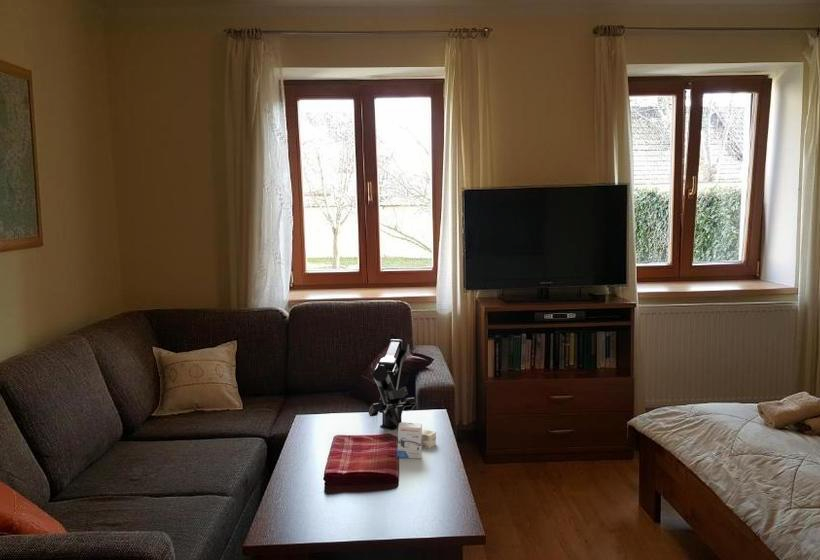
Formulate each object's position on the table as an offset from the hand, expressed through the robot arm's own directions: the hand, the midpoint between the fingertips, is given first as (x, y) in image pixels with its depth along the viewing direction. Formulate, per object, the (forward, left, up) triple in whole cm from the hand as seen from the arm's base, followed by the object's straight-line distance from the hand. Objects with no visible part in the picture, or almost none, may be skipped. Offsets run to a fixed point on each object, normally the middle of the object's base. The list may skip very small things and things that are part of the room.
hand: (400, 426), depth 236 cm
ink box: (+6, -4, -9) cm, 11 cm away
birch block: (+7, +9, -9) cm, 14 cm away
